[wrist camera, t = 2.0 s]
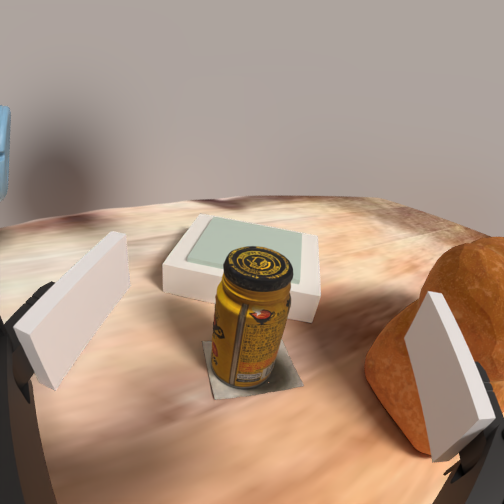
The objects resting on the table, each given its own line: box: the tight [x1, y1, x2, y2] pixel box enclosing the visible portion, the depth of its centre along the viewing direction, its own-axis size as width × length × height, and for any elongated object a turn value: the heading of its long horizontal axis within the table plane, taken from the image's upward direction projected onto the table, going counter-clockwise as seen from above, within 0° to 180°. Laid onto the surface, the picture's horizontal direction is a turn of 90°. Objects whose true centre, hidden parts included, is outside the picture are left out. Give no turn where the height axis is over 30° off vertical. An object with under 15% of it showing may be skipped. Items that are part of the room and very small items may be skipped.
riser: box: [162, 213, 321, 323], centre depth 42 cm, size 18×15×5 cm
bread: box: [364, 237, 504, 455], centre depth 26 cm, size 16×26×17 cm, turn 110°
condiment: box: [202, 246, 304, 400], centre depth 27 cm, size 7×8×12 cm
